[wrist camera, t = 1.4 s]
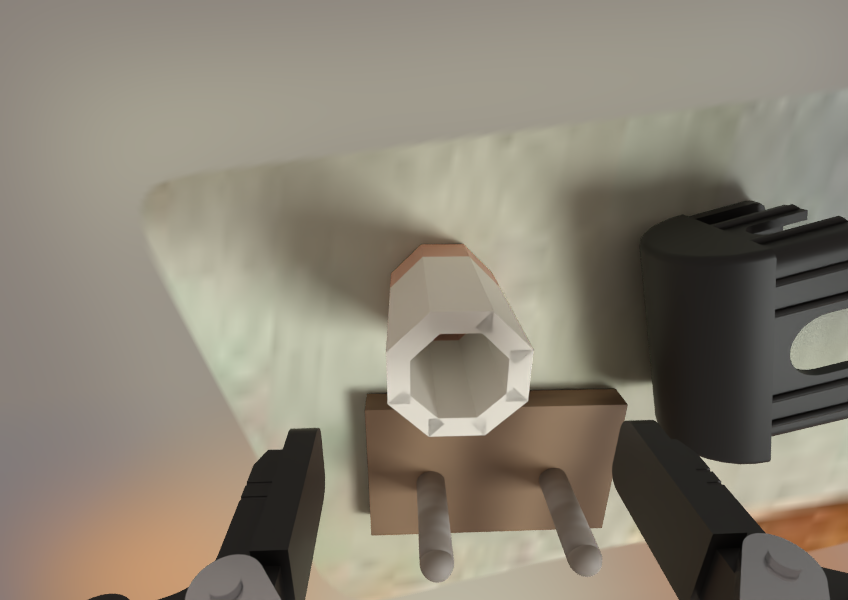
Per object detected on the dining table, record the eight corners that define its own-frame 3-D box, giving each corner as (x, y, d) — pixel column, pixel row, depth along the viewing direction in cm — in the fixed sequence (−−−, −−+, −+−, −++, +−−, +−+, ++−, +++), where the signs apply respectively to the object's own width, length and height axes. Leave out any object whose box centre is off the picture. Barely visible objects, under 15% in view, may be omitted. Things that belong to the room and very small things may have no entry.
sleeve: (493, 243, 22) (538, 310, 15) (487, 335, 24) (524, 434, 17) (390, 244, 22) (384, 312, 15) (392, 337, 24) (388, 438, 17)
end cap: (609, 227, 23) (689, 273, 16) (756, 187, 22) (895, 219, 16) (629, 392, 26) (699, 481, 20) (754, 361, 26) (865, 442, 20)
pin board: (615, 388, 26) (689, 486, 19) (592, 508, 30) (648, 626, 23) (366, 393, 26) (354, 496, 19) (372, 515, 29) (364, 638, 22)
